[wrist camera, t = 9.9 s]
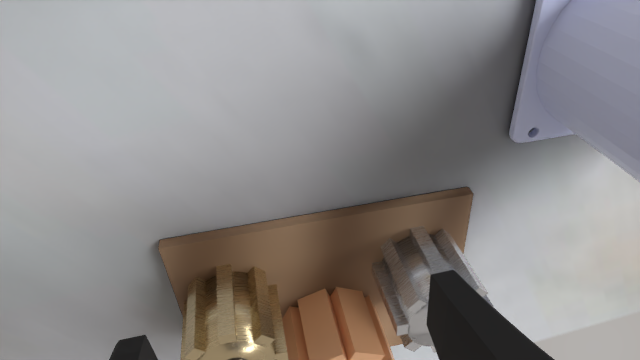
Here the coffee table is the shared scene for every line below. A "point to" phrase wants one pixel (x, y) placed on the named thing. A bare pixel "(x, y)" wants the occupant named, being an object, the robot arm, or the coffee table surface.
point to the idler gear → (335, 328)
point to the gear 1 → (233, 318)
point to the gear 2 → (418, 280)
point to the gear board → (317, 247)
